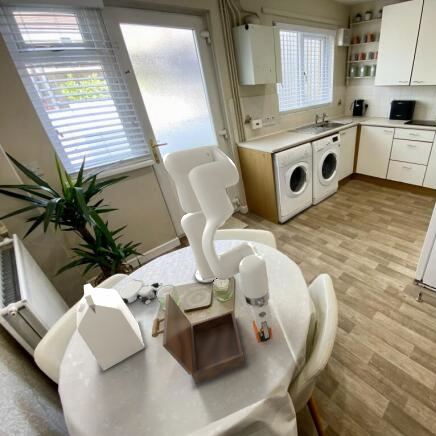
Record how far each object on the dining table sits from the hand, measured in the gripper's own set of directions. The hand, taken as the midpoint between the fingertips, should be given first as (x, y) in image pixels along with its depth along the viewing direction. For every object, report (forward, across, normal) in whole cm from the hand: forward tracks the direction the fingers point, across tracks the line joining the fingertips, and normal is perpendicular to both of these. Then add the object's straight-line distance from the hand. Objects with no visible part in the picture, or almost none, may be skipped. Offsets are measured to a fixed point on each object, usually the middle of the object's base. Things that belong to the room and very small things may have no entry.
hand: (263, 332), depth 80 cm
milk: (+3, +16, +45) cm, 48 cm away
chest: (+3, +2, +15) cm, 15 cm away
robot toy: (+3, +39, +42) cm, 57 cm away
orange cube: (+1, 0, 0) cm, 1 cm away
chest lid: (-11, +2, +23) cm, 26 cm away
